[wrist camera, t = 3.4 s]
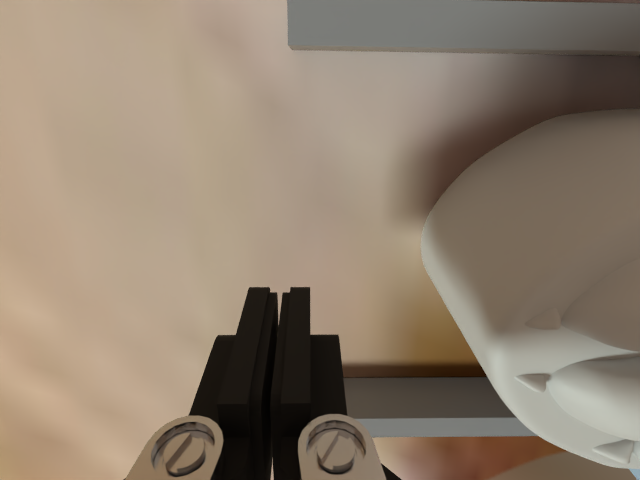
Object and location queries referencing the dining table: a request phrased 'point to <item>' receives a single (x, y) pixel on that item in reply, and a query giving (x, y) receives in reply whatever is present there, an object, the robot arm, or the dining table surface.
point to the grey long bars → (454, 37)
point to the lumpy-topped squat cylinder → (552, 277)
